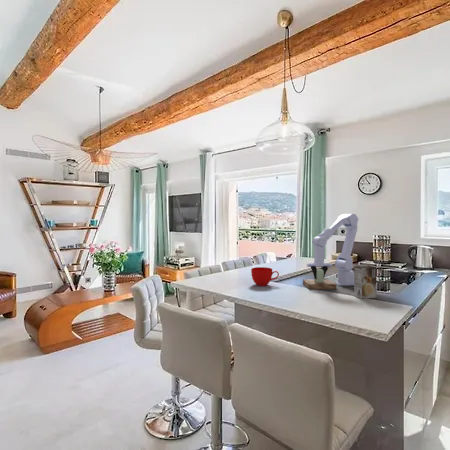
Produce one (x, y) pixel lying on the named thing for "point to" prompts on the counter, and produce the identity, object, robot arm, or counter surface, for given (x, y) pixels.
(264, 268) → the ceramic cup
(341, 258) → the robot arm
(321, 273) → the peg
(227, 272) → the counter surface
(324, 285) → the socket block
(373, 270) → the coffee box
